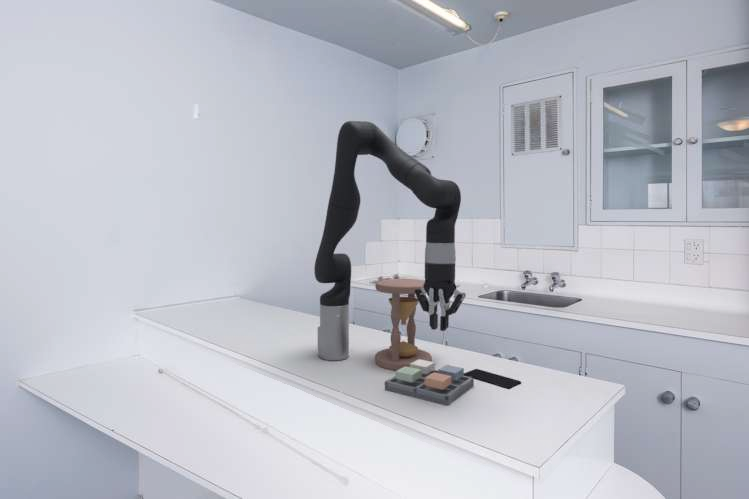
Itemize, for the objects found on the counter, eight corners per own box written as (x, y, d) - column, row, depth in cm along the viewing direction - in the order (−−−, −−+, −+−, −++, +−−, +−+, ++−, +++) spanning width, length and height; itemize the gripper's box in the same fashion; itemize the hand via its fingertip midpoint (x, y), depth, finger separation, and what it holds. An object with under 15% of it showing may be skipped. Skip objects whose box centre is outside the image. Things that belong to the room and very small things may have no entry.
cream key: (409, 370, 129) (410, 363, 129) (418, 366, 133) (418, 359, 133) (426, 374, 126) (426, 367, 126) (434, 369, 130) (434, 362, 130)
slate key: (438, 377, 124) (438, 369, 124) (446, 371, 128) (446, 364, 128) (455, 380, 121) (455, 373, 121) (463, 375, 125) (463, 368, 125)
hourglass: (411, 375, 134) (412, 288, 132) (363, 363, 144) (364, 283, 143) (441, 360, 148) (443, 281, 146) (396, 350, 158) (396, 277, 157)
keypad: (384, 389, 123) (384, 381, 123) (414, 373, 136) (414, 365, 136) (447, 405, 113) (447, 396, 112) (473, 385, 126) (473, 377, 126)
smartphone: (508, 387, 123) (461, 373, 134) (508, 390, 124) (461, 376, 134) (522, 381, 128) (475, 368, 139) (522, 384, 128) (475, 371, 139)
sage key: (395, 378, 123) (395, 371, 123) (405, 373, 127) (405, 366, 127) (412, 382, 120) (412, 374, 120) (421, 377, 124) (421, 369, 124)
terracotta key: (424, 385, 118) (424, 377, 118) (433, 379, 122) (433, 372, 122) (442, 389, 115) (442, 381, 115) (451, 383, 119) (451, 376, 119)
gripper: (408, 260, 117) (407, 328, 118) (459, 263, 109) (458, 336, 111) (422, 258, 123) (421, 323, 124) (472, 261, 116) (470, 330, 117)
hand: (439, 329), depth 118 cm, fingers closed
